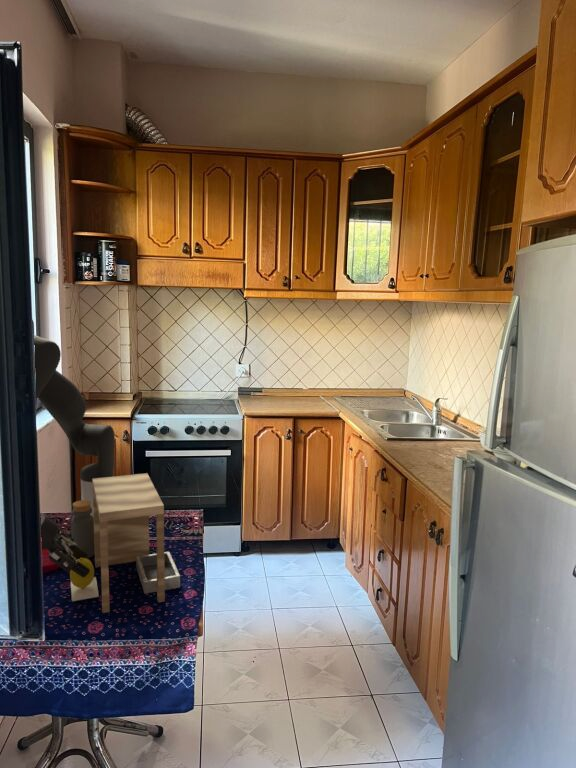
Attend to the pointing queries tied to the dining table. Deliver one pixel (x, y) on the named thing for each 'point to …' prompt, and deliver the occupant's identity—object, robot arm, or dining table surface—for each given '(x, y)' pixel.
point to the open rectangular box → (149, 572)
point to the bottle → (83, 527)
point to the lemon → (82, 581)
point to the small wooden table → (126, 525)
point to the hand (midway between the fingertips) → (86, 565)
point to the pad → (85, 591)
